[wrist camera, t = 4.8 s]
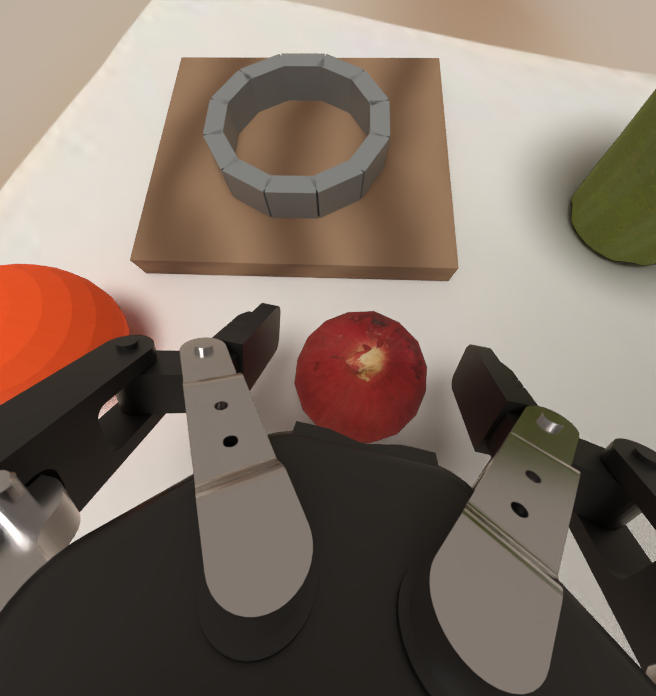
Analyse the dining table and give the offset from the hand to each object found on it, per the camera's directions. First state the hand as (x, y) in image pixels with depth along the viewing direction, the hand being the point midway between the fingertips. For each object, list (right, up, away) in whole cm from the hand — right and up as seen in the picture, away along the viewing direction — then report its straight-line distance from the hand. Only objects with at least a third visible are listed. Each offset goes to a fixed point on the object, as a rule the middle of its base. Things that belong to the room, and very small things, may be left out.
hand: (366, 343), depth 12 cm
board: (-4, +13, +8) cm, 16 cm away
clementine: (-16, -1, +5) cm, 17 cm away
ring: (-4, +14, +7) cm, 16 cm away
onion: (0, -2, +4) cm, 5 cm away
